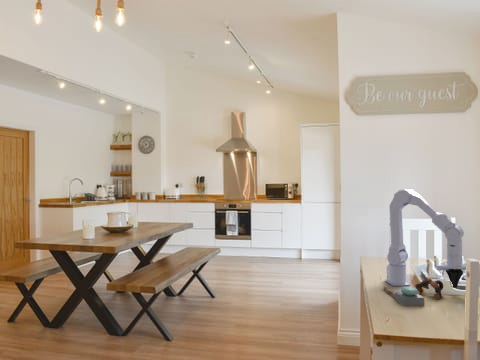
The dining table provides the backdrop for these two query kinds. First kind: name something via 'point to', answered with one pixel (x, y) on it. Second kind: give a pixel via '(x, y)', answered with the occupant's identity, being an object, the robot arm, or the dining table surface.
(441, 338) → the dining table surface
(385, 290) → the rail
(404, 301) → the dome box
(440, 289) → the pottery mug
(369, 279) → the dining table surface
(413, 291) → the dome button
